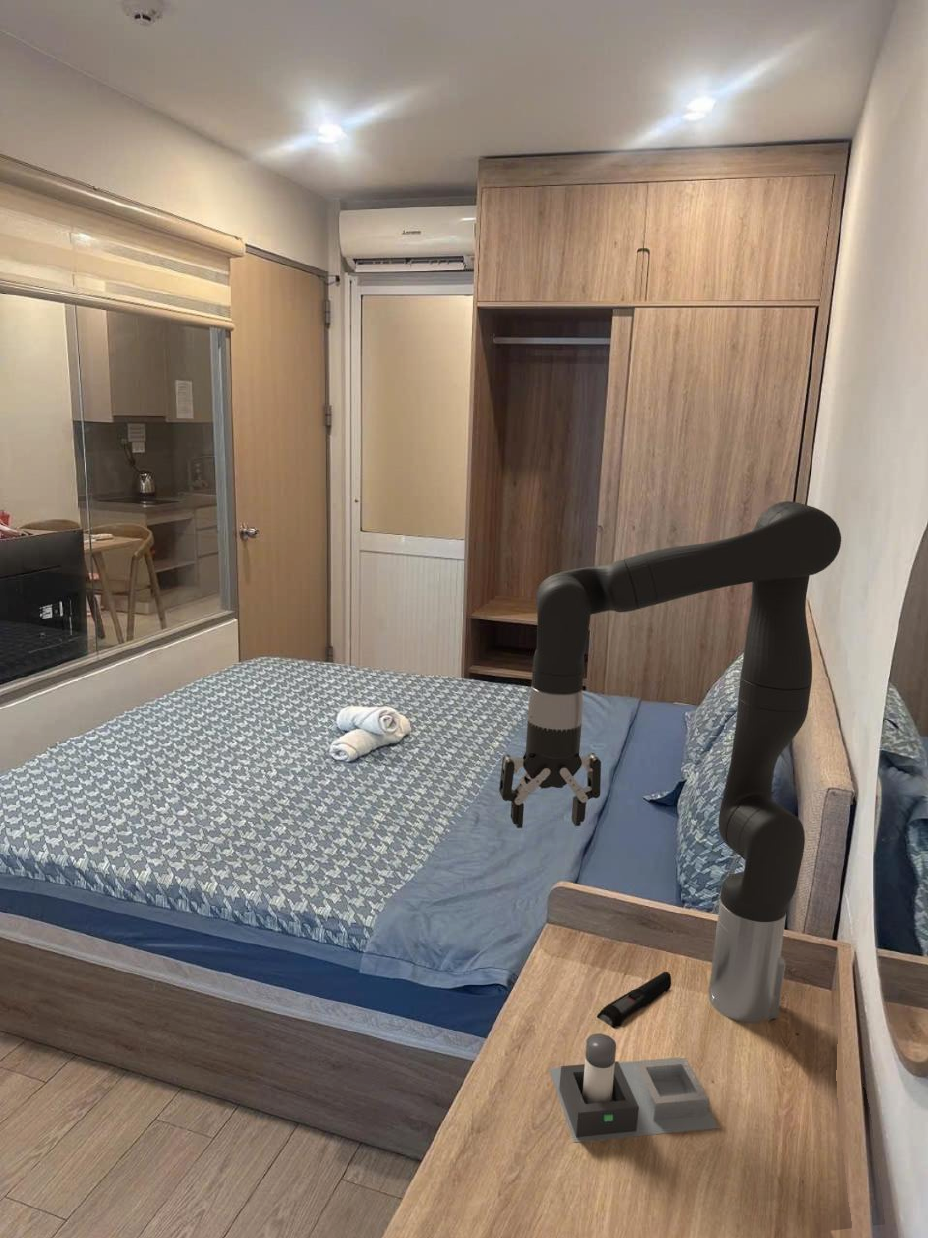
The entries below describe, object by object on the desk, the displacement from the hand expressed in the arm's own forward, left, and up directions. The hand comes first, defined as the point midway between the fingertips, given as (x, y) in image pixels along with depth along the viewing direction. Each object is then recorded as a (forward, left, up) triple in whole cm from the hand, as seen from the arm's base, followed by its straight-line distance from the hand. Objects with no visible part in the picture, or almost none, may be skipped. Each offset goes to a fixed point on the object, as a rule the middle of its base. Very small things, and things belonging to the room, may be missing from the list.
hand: (547, 824), depth 124 cm
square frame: (-12, +22, -27) cm, 37 cm away
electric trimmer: (-14, +4, -29) cm, 32 cm away
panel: (-7, +22, -28) cm, 36 cm away
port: (-2, +23, -27) cm, 36 cm away
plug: (-2, +23, -27) cm, 36 cm away
